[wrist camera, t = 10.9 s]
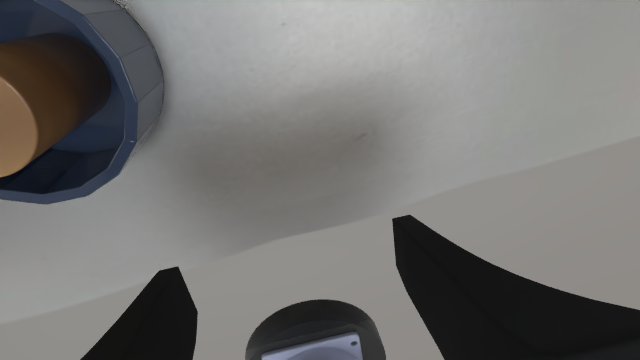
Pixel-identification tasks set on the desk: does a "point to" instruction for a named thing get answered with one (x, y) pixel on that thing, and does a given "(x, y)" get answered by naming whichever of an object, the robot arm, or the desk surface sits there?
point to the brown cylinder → (45, 94)
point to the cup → (107, 124)
